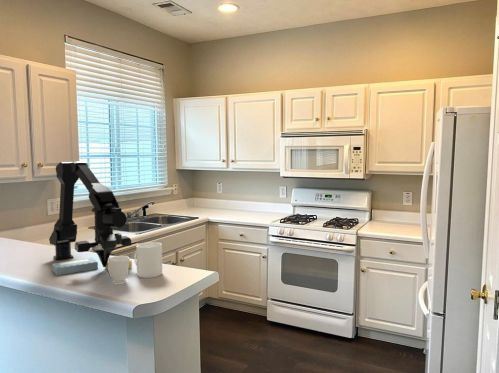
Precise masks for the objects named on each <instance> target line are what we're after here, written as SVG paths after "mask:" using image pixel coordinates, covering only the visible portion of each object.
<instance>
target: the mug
mask: <svg viewBox="0 0 499 373" xmlns="http://www.w3.org/2000/svg"><path fill="white" fill-rule="evenodd" d="M135 248H136V249H135V251H134V255H133V256H134V263H135V265H136V274H137V276H138V277H139V278H143V279H152V278H156V277H157V278H158V277H159V276H161V275H162V274H163V245H162V243H161V242H158V241H157V242H156V241H148V242H142V243H138V244H136V247H135Z"/></svg>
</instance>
